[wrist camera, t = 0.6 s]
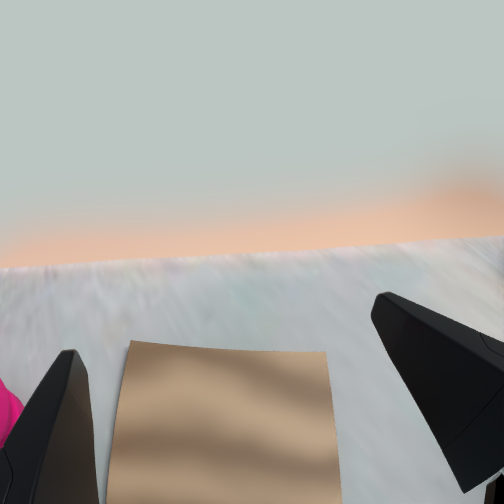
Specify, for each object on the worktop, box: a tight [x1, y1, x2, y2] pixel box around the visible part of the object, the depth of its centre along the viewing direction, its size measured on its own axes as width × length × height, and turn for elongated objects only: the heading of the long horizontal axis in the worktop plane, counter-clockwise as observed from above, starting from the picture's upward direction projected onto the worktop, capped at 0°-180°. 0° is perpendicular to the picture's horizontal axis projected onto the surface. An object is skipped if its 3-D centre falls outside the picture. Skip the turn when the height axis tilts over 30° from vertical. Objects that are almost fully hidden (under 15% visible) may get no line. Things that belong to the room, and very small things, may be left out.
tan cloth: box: [106, 340, 342, 504], centre depth 18 cm, size 18×16×1 cm
